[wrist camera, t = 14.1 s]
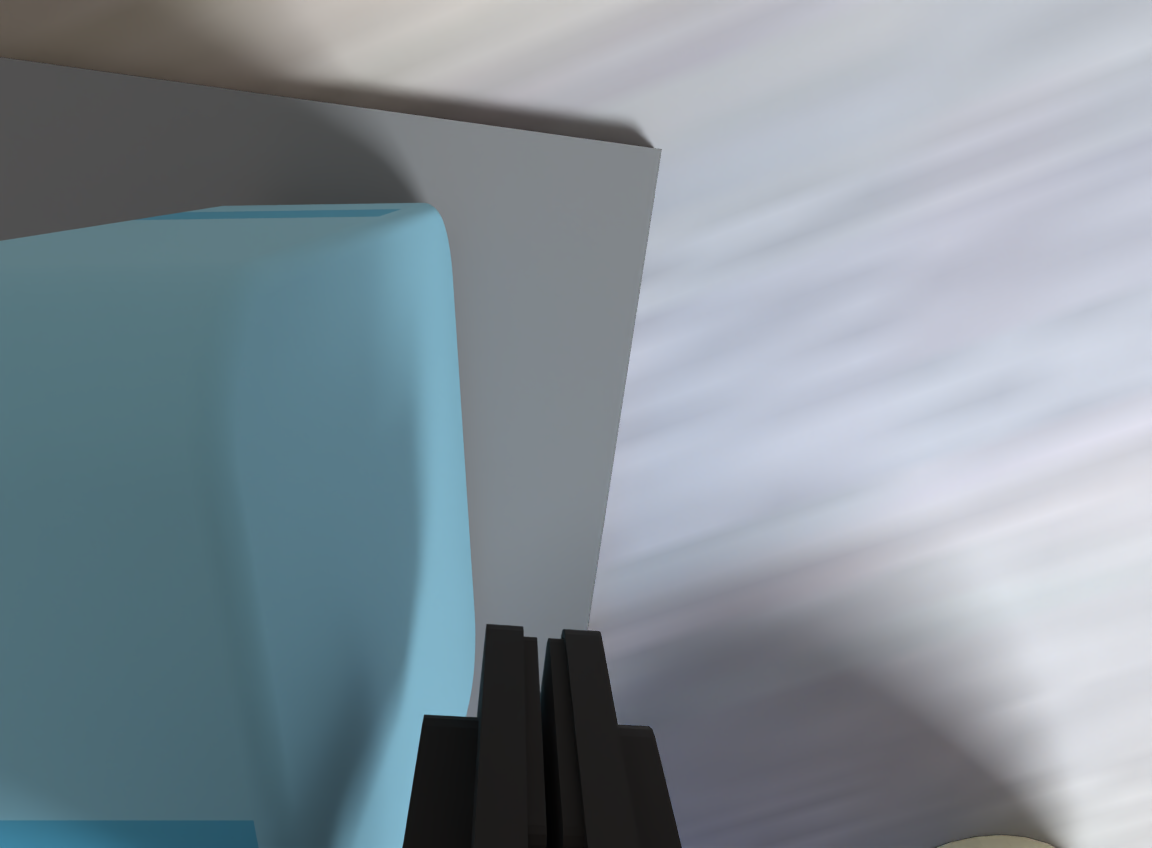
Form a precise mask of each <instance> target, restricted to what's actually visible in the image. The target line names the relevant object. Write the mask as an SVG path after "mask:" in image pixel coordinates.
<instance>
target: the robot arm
mask: <svg viewBox="0 0 1152 848" xmlns="http://www.w3.org/2000/svg"><path fill="white" fill-rule="evenodd" d="M402 848H682V847H681V843H680V839H679V835H678V830H677V826H676V822H675V818H674V814H673V810H672V806H671V802H670V797H669V793H668V789H667V785H666V781H665V777H664V773H663V768H662V764H661V760H660V756H659V752H658V748H657V744H656V739H655V736H654V733H653V730H652V729H651V728H650V727H649V726H631V725H618V724H617V719H616V713H615V708H614V702H613V697H612V691H611V686H610V680H609V675H608V669H607V664H606V658H605V653H604V647H603V642H602V636H601V633H600V632H599V631H588V630H573V629H563V630H562V634H561V639H556V638H548V640H547V646H546V653H545V661H544V668H543V676H542V684H541V691H540V682H539V662H538V642H537V637H525V636H524V629H523V626H512V625H497V624H486V631H485V641H484V651H483V660H482V670H481V680H480V690H479V700H478V709H477V717H462V716H443V715H425V714H424V717H423V722H422V728H421V734H420V740H419V747H418V753H417V759H416V766H415V772H414V778H413V784H412V791H411V797H410V803H409V809H408V816H407V822H406V828H405V834H404V841H403V847H402Z"/></svg>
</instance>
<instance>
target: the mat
mask: <svg viewBox="0 0 1152 848" xmlns="http://www.w3.org/2000/svg"><path fill="white" fill-rule="evenodd" d="M661 150H662V149H656V148H649V147H642V146H634V145H627V144H620V143H613V142H606V141H599V140H591V139H584V138H577V137H570V136H563V135H556V134H548V133H541V132H534V131H527V130H520V129H513V128H505V127H498V126H491V125H484V124H477V123H469V122H462V121H455V120H448V119H441V118H434V117H426V116H419V115H412V114H405V113H398V112H391V111H383V110H376V109H369V108H362V107H355V106H347V105H340V104H333V103H326V102H319V101H312V100H304V99H297V98H290V97H283V96H276V95H269V94H261V93H254V92H247V91H240V90H233V89H226V88H218V87H211V86H204V85H197V84H190V83H182V82H175V81H168V80H161V79H154V78H147V77H139V76H132V75H125V74H118V73H111V72H104V71H96V70H89V69H82V68H75V67H68V66H60V65H53V64H46V63H39V62H32V61H25V60H17V59H10V58H3V57H0V241H3V240H9V239H15V238H22V237H28V236H35V235H41V234H47V233H54V232H60V231H66V230H73V229H79V228H85V227H92V226H98V225H104V224H111V223H117V222H123V221H130V220H136V219H143V218H149V217H155V216H162V215H168V214H174V213H181V212H187V211H193V210H200V209H206V208H212V207H219V206H243V205H310V204H376V203H428V204H430V205H432V206H433V207H435V208H436V209H437V211H438V212H439V214H440V215H441V217H442V219H443V222H444V225H445V228H446V232H447V236H448V241H449V247H450V254H451V262H452V273H453V288H454V303H455V319H456V334H457V349H458V365H459V380H460V395H461V411H462V426H463V442H464V457H465V472H466V488H467V503H468V518H469V534H470V549H471V565H472V580H473V595H474V611H475V662H474V674H473V683H472V690H471V696H470V701H469V705H468V710H467V715H466V717H477V709H478V700H479V690H480V680H481V670H482V660H483V651H484V641H485V631H486V624H497V625H512V626H523V629H524V636H525V637H537V642H538V662H539V682H540V691H541V684H542V676H543V668H544V661H545V653H546V646H547V640H548V638H556V639H561V634H562V630H563V629H573V630H587V629H588V623H589V616H590V610H591V603H592V597H593V590H594V584H595V577H596V571H597V564H598V558H599V551H600V545H601V538H602V532H603V525H604V519H605V513H606V506H607V500H608V493H609V487H610V480H611V474H612V467H613V461H614V454H615V448H616V441H617V435H618V428H619V422H620V416H621V409H622V403H623V396H624V390H625V383H626V377H627V370H628V364H629V357H630V351H631V344H632V338H633V331H634V325H635V318H636V312H637V306H638V299H639V293H640V286H641V280H642V273H643V267H644V260H645V254H646V247H647V241H648V234H649V228H650V221H651V215H652V208H653V202H654V196H655V189H656V183H657V176H658V170H659V163H660V157H661Z"/></svg>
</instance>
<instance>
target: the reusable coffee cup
mask: <svg viewBox="0 0 1152 848" xmlns="http://www.w3.org/2000/svg"><path fill="white" fill-rule="evenodd" d="M937 848H1055V847H1054V846H1052V845H1050V844H1048V843H1044V842H1041V841H1037V840H1034V839H1031V838H1027V837H1018V836H1008V835H994V836H979V837H973V838H968V839H964V840H959V841H955V842H950V843H947V844H945V845H942V846H939V847H937Z"/></svg>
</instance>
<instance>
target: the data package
mask: <svg viewBox="0 0 1152 848" xmlns="http://www.w3.org/2000/svg"><path fill="white" fill-rule="evenodd" d="M474 662H475V611H474V595H473V580H472V565H471V549H470V534H469V518H468V503H467V488H466V472H465V457H464V442H463V426H462V411H461V395H460V380H459V365H458V349H457V334H456V319H455V303H454V288H453V273H452V262H451V254H450V247H449V241H448V236H447V232H446V228H445V225H444V222H443V219H442V217H441V215H440V214H439V212H438V211H437V209H436V208H435V207H433V206H432V205H430V204H428V203H376V204H310V205H243V206H219V207H212V208H206V209H200V210H193V211H187V212H181V213H174V214H168V215H162V216H155V217H149V218H143V219H136V220H130V221H123V222H117V223H111V224H104V225H98V226H92V227H85V228H79V229H73V230H66V231H60V232H54V233H47V234H41V235H35V236H28V237H22V238H15V239H9V240H3V241H0V848H402V847H403V841H404V834H405V828H406V822H407V816H408V809H409V803H410V797H411V791H412V784H413V778H414V772H415V766H416V759H417V753H418V747H419V740H420V734H421V728H422V722H423V717H424V714H425V715H443V716H462V717H466V715H467V710H468V705H469V701H470V696H471V690H472V683H473V674H474Z"/></svg>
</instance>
